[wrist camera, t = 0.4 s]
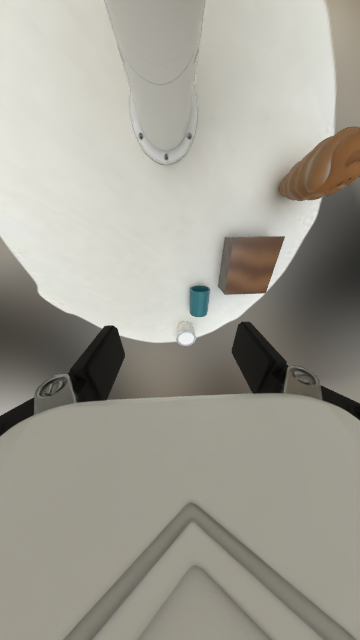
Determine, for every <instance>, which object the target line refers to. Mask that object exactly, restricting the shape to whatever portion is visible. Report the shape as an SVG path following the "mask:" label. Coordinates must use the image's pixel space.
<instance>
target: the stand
mask: <svg viewBox="0 0 360 640" xmlns="http://www.w3.org/2000/svg"><path fill="white" fill-rule="evenodd" d="M284 238H285V237H281V236H258V237H225V240H224V247H223V254H222V261H221V269H220V276H219V283H218V287H219V288H220V290H221V291H222V292H223V293H224V294H225V295H227V294H257V293H266V291H267V288H268V285H269V282H270V279H271V276H272V273H273V270H274V267H275V264H276V261H277V258H278V255H279V252H280V249H281V246H282V244H283V241H284Z"/></svg>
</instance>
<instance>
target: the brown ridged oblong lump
mask: <svg viewBox="0 0 360 640" xmlns="http://www.w3.org/2000/svg"><path fill="white" fill-rule="evenodd" d="M358 177H360V128H359V127H348V128H345V129H343V130H341V131H340V132H338V133H337V134H335V135H334V136H331V137H329V138H327V139H325V140H323V141H322V142H320V143H319V144H318V145H317V146H316V147H315V148H314V149H313V150H312V151H311V152H310V153H309V154H307V155H306V156H305V157H304V158H303V159H302V160H301V161H300V162H298V163H297V164H296V165H295V166H294V167H293V168H292V169H291V171H290V172H289V173H288V174H287V176H286V177H285V178H284V180H283V181H282V183H281V186H280V190H279V191H280V194H281V195H283V196H285V197H287V198H288V199H291V200H297V201H303V200H315V199H319V198H321V197H323V196H329V195H331V194H333V193H335V192H337V191H339V190H341V189H342V188H344V187H345V186H346V185H349V184H351V183H352V182H353V181H355V180H356V179H357V178H358Z"/></svg>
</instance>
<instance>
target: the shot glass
mask: <svg viewBox="0 0 360 640" xmlns="http://www.w3.org/2000/svg"><path fill="white" fill-rule="evenodd" d="M176 340H177V342H178V343H179V344H180V345H183V346H188V345H191V344H193V343H194V342H195V340H196V336H195V333H194V330H193V328H192V325H191V324H190V323H189V322H187V321H184V322H181V323H179V325H178V330H177V339H176Z"/></svg>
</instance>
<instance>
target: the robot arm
mask: <svg viewBox="0 0 360 640" xmlns="http://www.w3.org/2000/svg"><path fill="white" fill-rule="evenodd" d="M104 2H105V5H106V9H107V12H108V15H109V19H110V22H111V25H112V29H113V32H114V36H115V39H116V42H117V46H118V49H119V52H120V56H121V59H122V63H123V66H124V69H125V73H126V76H127V80H128V83H129V86H130V98H129V105H130V115H131V121H132V125H133V128H134V131H135V134H136V137H137V139H138V141H139V143H140V145H141V147H142V149H143V150H144V151H145V153H146V154H147V155H148V156H149V157H150V158H151V159H153V160H154V161H156V162H158V163H161V164H173V163H175V162H177V161H179V160H180V159H181V158H182V157H183V156H184V155H185V154H186V152H187V151H188V149H189V148H190V146H191V144H192V141H193V138H194V135H195V130H196V125H197V117H198V104H197V95H196V90H195V85H194V81H195V74H196V66H197V59H198V52H199V45H200V37H201V30H202V23H203V15H204V7H205V0H104ZM141 137H142V138H143V139H142V140H141ZM188 137H190V140H189V139H188ZM166 157H167V158H168V159H167V160H166V159H165V158H166ZM232 354H233V356H234V358H235V360H236V362H237V364H238V366H239V368H240V370H241V372H242V374H243V376H244V378H245V379H246V381H247V383H248V385H249V387H250V389H251V391H252V393H253V394H230V395H206V396H185V397H184V396H182V397H161V398H141V399H120V400H107V398H108V396H109V393H110V391H111V388H112V386H113V384H114V381H115V379H116V377H117V374H118V372H119V369H120V367H121V364H122V362H123V360H124V357H125V353H124V349H123V346H122V343H121V340H120V336H119V333H118V329H117V328H116V327H114V326H104V328H103V329H102V330H101V331H100V333H99V334H98V335H97V336H96V338H95V339H94V340H93V341H92V343H91V344H90V345H89V346H88V348H87V349H86V350H85V352H84V353H83V354H82V356H80V358H79V359H78V360H77V362H76V363H75V364H74V365H73V367H72V368H71V369H70V372H69V373H68V375H67V374H61V375H56V376H54V377H52V378H50V379H48V380H46V381H45V382H44V383H43V384H41V385H40V386H39V387H38V389H37V390H36V392H35V395H34V396H35V397H34V398H32V399H30V400H28V401H27V402H25V403H23V404H21V405H19V406H17V407H16V408H14V409H12V410H10V411H8V412H7V413H5V414H3V415H1V416H0V640H360V403H358V402H355V401H353V400H351V399H349V398H347V397H344V396H343V395H340V394H338V393H336V392H334V391H332V390H330V389H328V388H325V387H323V386H321V385H320V381H319V379H318V378H317V376H316V375H314V374H313V373H312V372H311V371H309V370H307V369H305V368H303V367H300V366H296V365H291V366H288V365H287V364H286V363H287V362H286V361H285V359H284V358H283V357H282V356H281V355H280V354H279V353H278V352H277V351H276V350H275V349H274V347H272V345H271V344H270V343H269V342H268V341H267V340H266V339H265V338H264V337H263V336H262V334H261V333H260V332H259V331H258V330H257V329H256V328H255V327H254V326H253V325H252V324H251V323H250V322H241V323H240V324H239V325H238V328H237V332H236V336H235V339H234V344H233V347H232ZM104 400H105V401H104Z"/></svg>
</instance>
